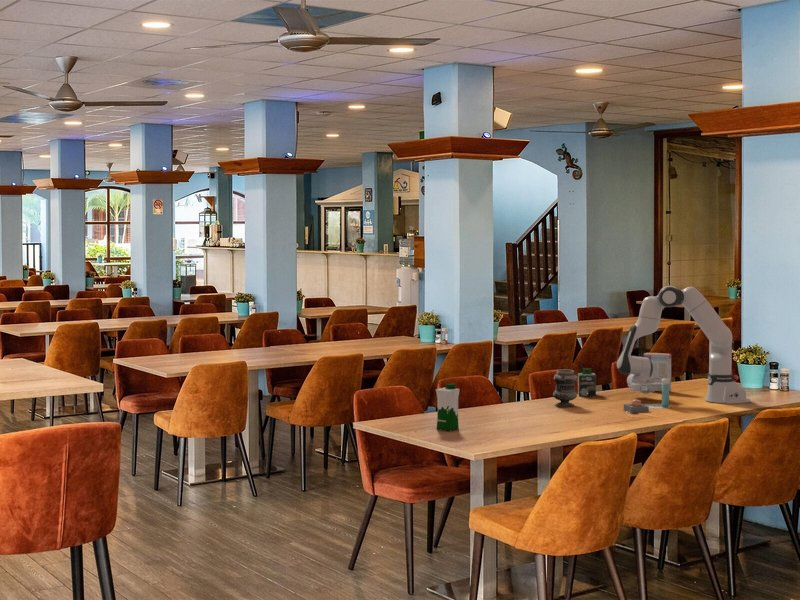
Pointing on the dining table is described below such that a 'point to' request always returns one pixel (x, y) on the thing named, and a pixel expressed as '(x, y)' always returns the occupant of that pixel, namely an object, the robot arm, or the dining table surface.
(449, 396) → the milk carton
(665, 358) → the cracker box
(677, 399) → the dining table surface
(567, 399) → the apothecary jar
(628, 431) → the dining table surface
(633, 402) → the button
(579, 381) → the chalk box
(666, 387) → the marker
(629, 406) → the button housing
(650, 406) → the picture board
